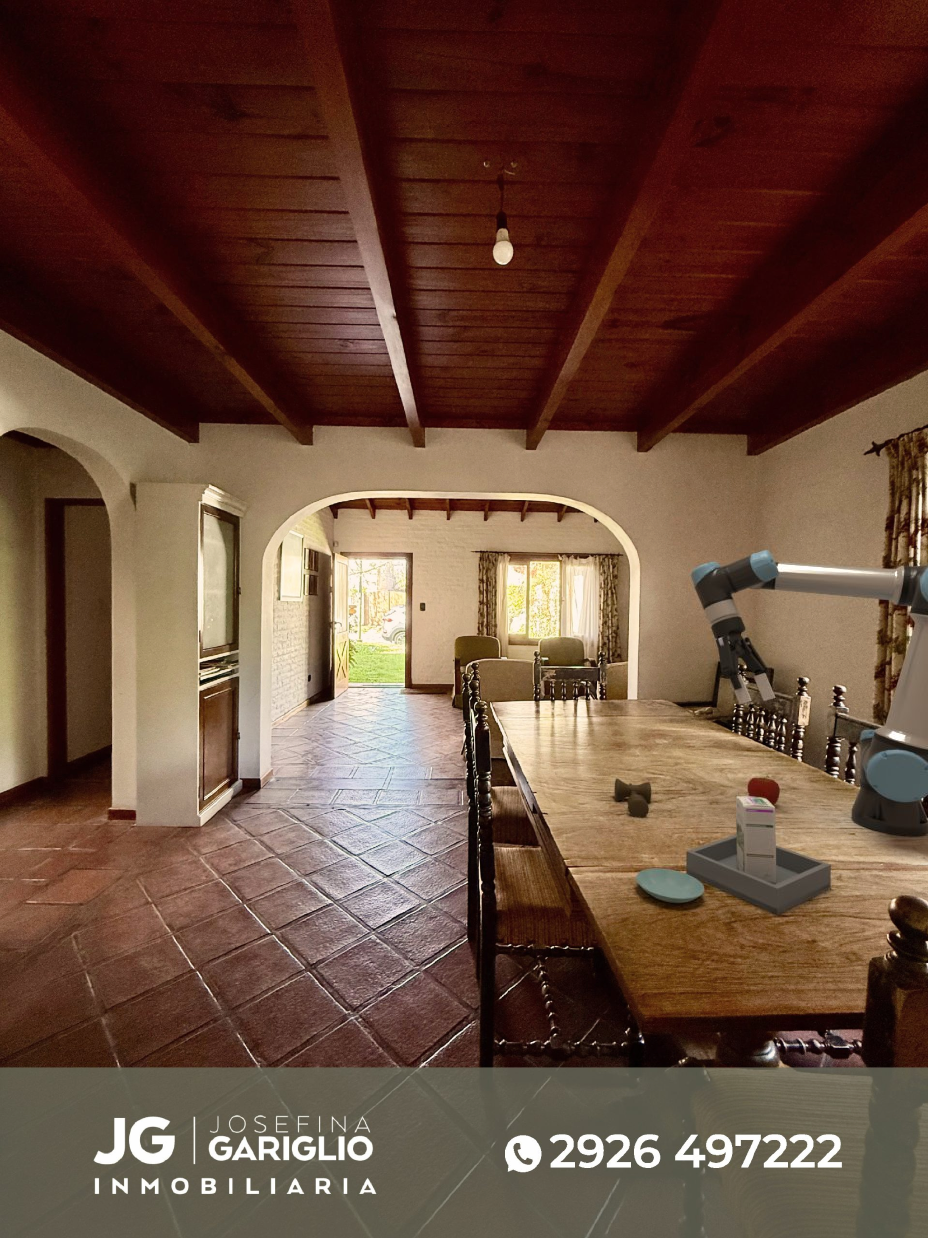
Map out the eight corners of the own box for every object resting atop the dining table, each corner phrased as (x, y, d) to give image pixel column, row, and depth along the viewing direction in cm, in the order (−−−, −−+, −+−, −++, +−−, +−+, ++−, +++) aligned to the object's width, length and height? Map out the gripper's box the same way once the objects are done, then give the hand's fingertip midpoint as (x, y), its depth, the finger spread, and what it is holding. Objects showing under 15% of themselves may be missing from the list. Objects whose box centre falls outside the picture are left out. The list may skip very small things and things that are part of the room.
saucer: (646, 874, 111) (646, 862, 111) (710, 890, 105) (710, 878, 105) (627, 898, 102) (627, 885, 102) (696, 918, 95) (696, 905, 95)
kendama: (618, 819, 143) (612, 792, 163) (658, 822, 141) (647, 795, 161) (619, 795, 143) (613, 772, 162) (659, 799, 141) (647, 775, 161)
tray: (740, 854, 121) (740, 833, 121) (830, 888, 105) (830, 864, 105) (686, 873, 111) (686, 851, 111) (777, 915, 96) (777, 889, 96)
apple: (772, 801, 155) (772, 773, 155) (785, 811, 147) (785, 781, 147) (742, 800, 156) (743, 772, 156) (754, 810, 148) (754, 780, 148)
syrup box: (777, 884, 105) (777, 806, 105) (743, 881, 106) (743, 804, 106) (767, 870, 110) (767, 797, 110) (734, 868, 112) (735, 795, 111)
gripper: (733, 627, 154) (764, 702, 147) (687, 625, 138) (719, 708, 131) (760, 616, 149) (793, 693, 142) (715, 612, 133) (750, 699, 126)
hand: (758, 701), depth 137 cm, fingers open, 13 cm apart
